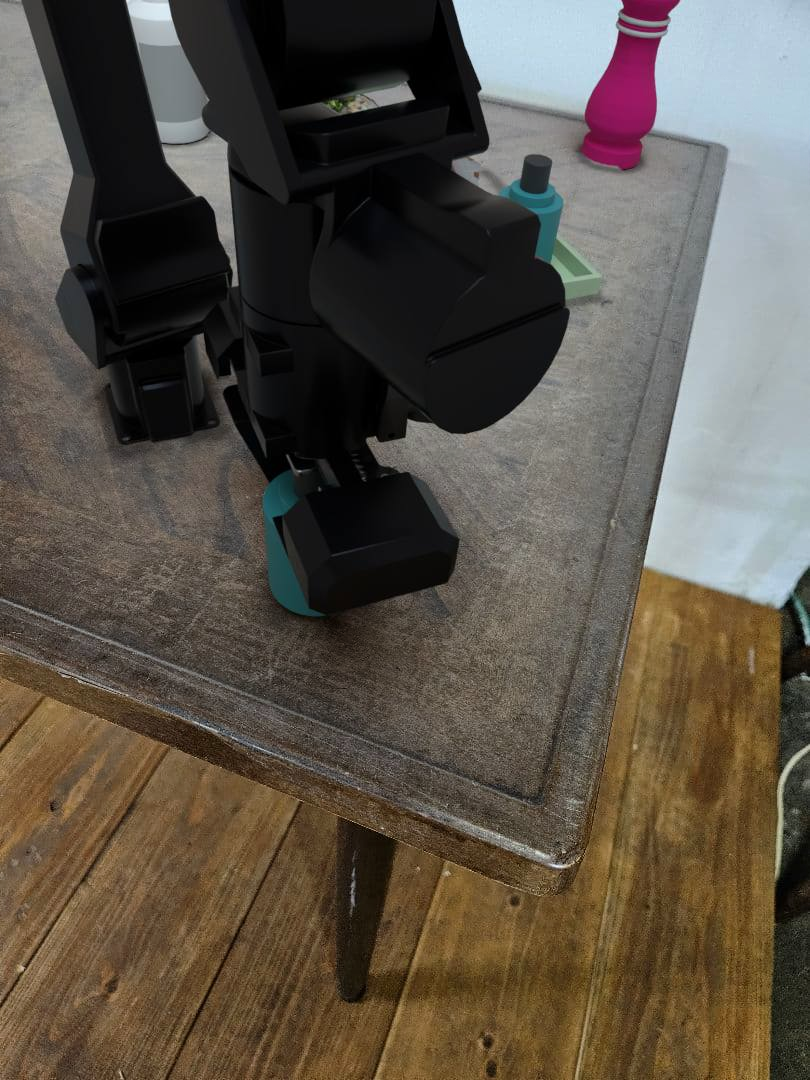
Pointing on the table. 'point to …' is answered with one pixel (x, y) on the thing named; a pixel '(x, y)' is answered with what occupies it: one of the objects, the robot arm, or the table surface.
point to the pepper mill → (627, 86)
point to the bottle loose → (280, 571)
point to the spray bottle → (168, 73)
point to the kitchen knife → (467, 169)
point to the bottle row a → (538, 200)
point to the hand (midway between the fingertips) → (316, 554)
